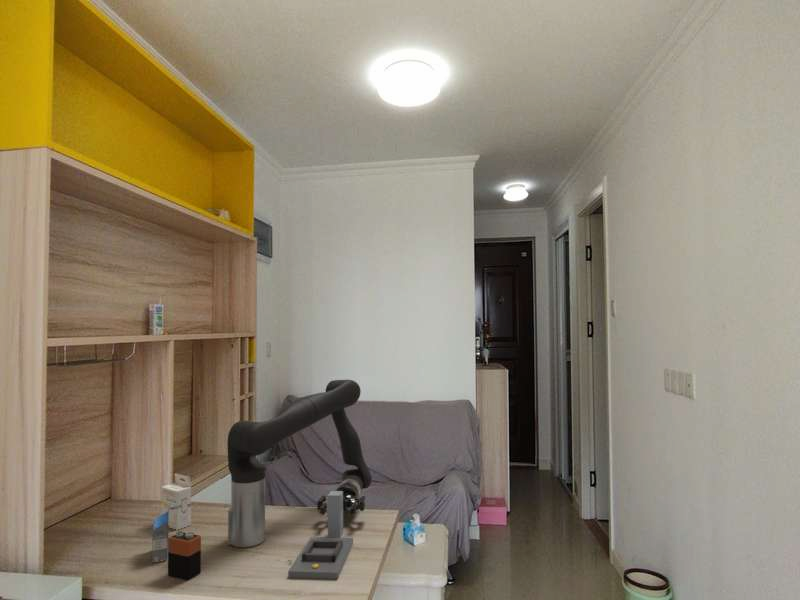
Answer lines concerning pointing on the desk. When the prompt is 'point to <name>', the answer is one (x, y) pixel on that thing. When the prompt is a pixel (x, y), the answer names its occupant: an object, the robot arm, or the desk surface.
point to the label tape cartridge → (160, 537)
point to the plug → (335, 514)
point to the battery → (184, 555)
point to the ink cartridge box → (177, 502)
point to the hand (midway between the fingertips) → (336, 511)
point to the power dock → (321, 558)
